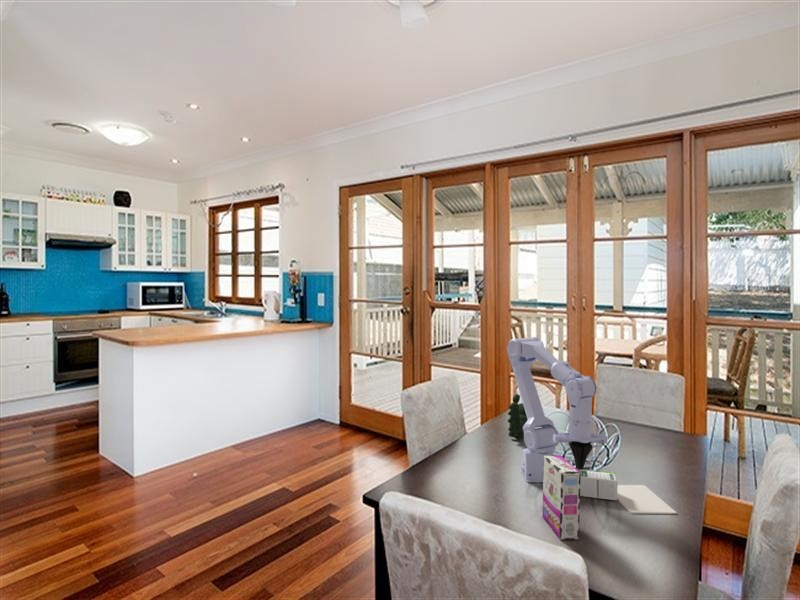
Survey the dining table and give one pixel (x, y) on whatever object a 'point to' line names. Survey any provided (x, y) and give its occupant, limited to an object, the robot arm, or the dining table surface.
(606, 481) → the syrup box
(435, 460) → the dining table surface
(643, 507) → the cream white mat
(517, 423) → the dark green lumpy piece
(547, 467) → the candy bar box
